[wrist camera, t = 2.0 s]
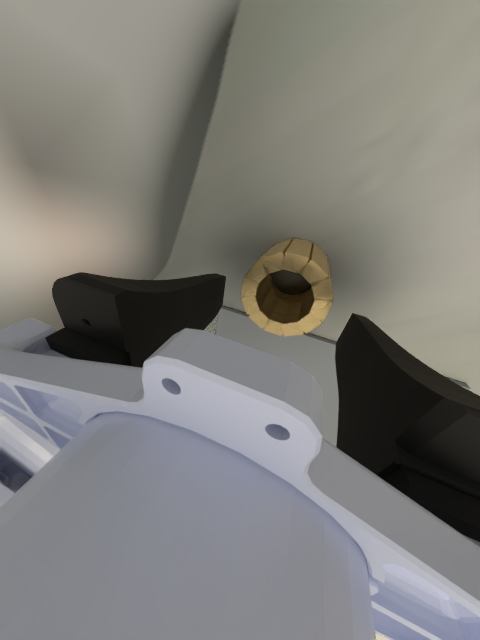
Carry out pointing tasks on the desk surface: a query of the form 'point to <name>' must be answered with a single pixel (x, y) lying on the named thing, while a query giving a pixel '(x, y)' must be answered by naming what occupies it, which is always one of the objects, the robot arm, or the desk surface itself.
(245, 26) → the desk surface
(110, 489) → the robot arm
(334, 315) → the desk surface
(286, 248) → the wooden link ring
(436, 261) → the desk surface
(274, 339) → the grey square plate
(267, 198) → the desk surface
